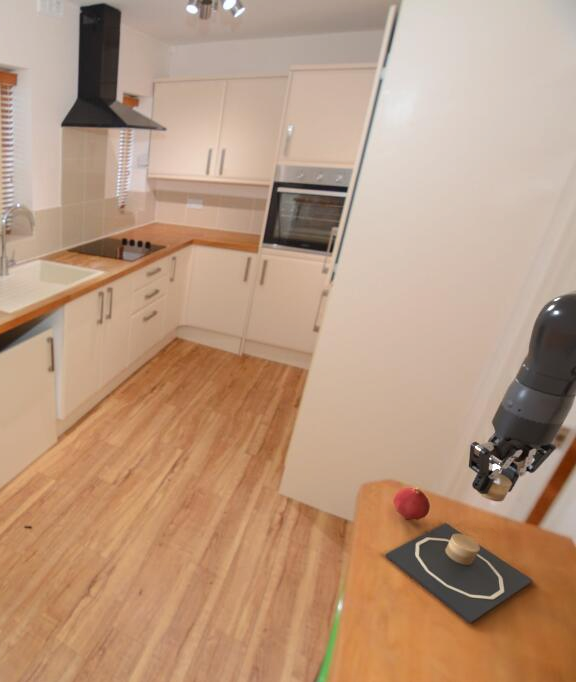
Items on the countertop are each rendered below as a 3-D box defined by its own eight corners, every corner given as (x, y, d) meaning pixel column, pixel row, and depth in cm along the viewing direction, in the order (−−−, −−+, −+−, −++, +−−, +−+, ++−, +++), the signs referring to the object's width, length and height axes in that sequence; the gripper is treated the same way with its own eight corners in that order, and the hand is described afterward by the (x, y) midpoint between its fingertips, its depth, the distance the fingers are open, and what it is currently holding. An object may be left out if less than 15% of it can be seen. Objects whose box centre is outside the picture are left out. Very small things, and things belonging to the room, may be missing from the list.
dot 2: (510, 500, 80) (518, 485, 78) (489, 502, 79) (497, 487, 78) (488, 484, 83) (495, 469, 82) (468, 486, 83) (475, 471, 81)
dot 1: (464, 568, 82) (471, 554, 80) (440, 551, 85) (446, 537, 84) (477, 560, 83) (485, 547, 82) (453, 544, 87) (459, 530, 85)
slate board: (531, 583, 80) (533, 579, 80) (470, 624, 73) (472, 620, 73) (444, 525, 92) (446, 522, 91) (385, 556, 85) (386, 553, 85)
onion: (392, 502, 97) (404, 473, 94) (425, 517, 93) (439, 487, 90) (385, 517, 93) (397, 487, 90) (419, 533, 90) (433, 503, 86)
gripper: (516, 425, 70) (473, 509, 77) (598, 419, 71) (548, 502, 78) (471, 399, 76) (436, 478, 84) (547, 393, 78) (506, 472, 85)
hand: (490, 489), depth 81 cm, fingers closed on dot 2, 4 cm apart
